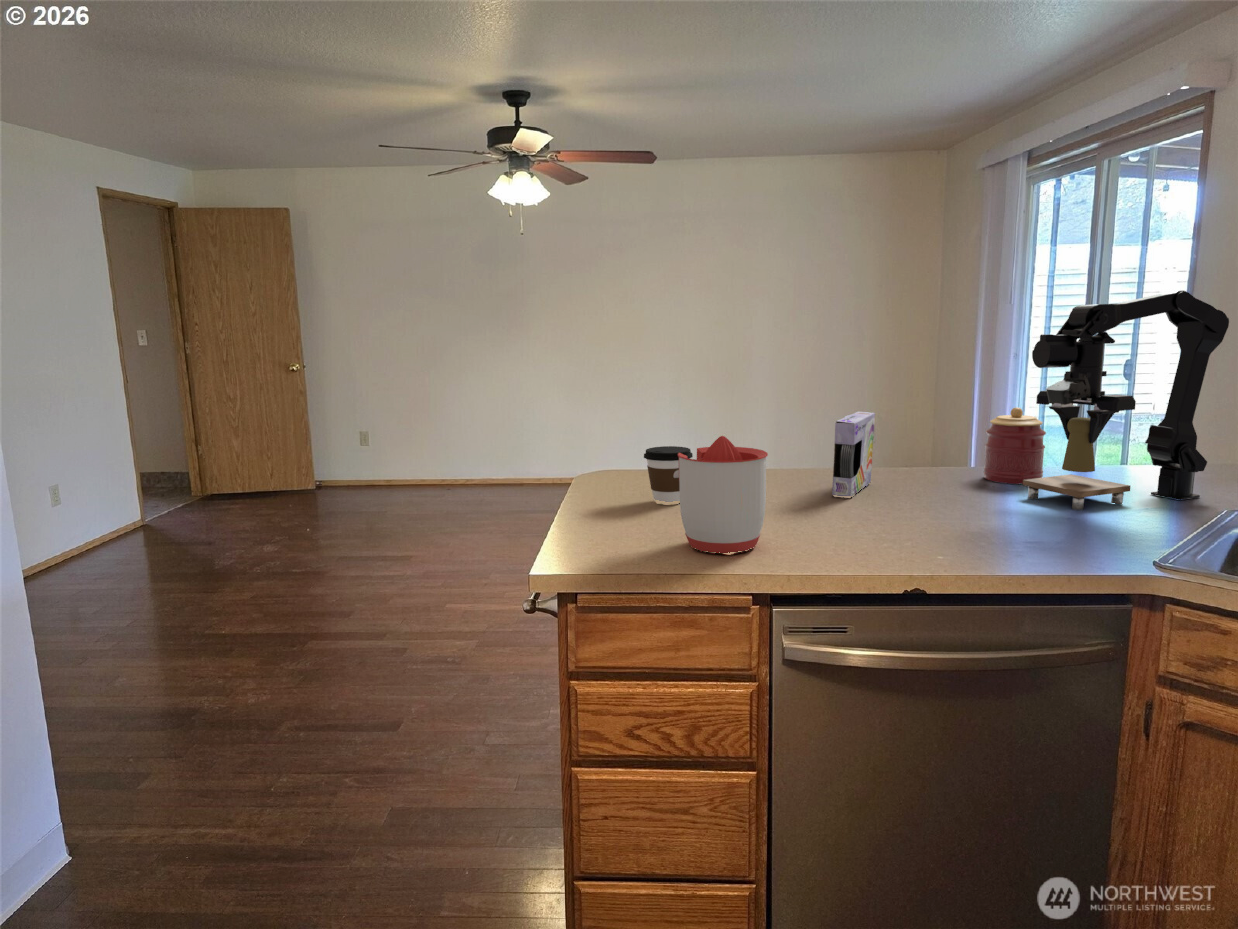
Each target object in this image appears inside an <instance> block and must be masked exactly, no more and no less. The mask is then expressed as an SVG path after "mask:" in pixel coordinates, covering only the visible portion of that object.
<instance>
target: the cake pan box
mask: <svg viewBox="0 0 1238 929" xmlns="http://www.w3.org/2000/svg"><path fill="white" fill-rule="evenodd" d="M875 417H876V413H875V412H867V411H856V412H854V413H852V414H848V415H845V416H844V417H843V418H840V419H838V420H836V421H835V424H834V426H835V427H834V445H833V447H834V448H833V451H834V452H833V466H832V469H833V470H832V492H831V494H832V495H837V496H853V495H854V494H855V493H857V492H858V491H859V490H861V489H862V488H863V487H865V486H866V487H867V486H868V484H869V483H870V484H871V481H872V468H873V467H872V466H873V450H874V436H875V435H874V433H875V419H876V418H875ZM870 484H869V485H870ZM866 487H865V488H866ZM862 490H863V489H862ZM862 490H861V491H862ZM857 494H858V493H857Z"/></svg>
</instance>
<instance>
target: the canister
mask: <svg viewBox="0 0 1238 929" xmlns="http://www.w3.org/2000/svg"><path fill="white" fill-rule="evenodd" d="M1023 414H1024V413H1023V410H1022V408H1021V407H1017V406H1016V407H1015V406H1014V407H1013V408H1012V409H1011V411H1010V414H1007V415H1006V414H1005V415H1002V414H1001V415H998V416H996V417H994V418H992V419H991V420H989V423H990V424H991V426H990V427H989V428H987V429H985V433H986V434H987V440H986V442H985V444H984V446H985V449H984V450H985V454H984V467H983V477H984V479H985V480H987V481H990V482H996V483H1001V484H1008V485H1009V484H1011V485H1023V480H1027V479H1035V478H1044V477H1043V476H1044V474H1043V473H1044V470H1043V469H1044V468H1043V466H1044V457H1045V456H1044V454H1045V453H1044V452H1045V448H1046V445H1044V436H1045V435H1046V434H1047V432H1046V431H1045V430H1044V429H1042V427H1041V426H1042V425H1043V421H1041V420H1039V419H1038V418H1037V417H1036V416H1032V415H1023Z"/></svg>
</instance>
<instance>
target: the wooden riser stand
mask: <svg viewBox="0 0 1238 929" xmlns="http://www.w3.org/2000/svg"><path fill="white" fill-rule="evenodd" d="M1027 487H1028V486H1027ZM1027 491H1028V492H1027V499H1028V500H1034V499H1036V500H1038V499H1039V491H1040V489H1037V488H1033V487H1028V490H1027ZM1124 493H1125V492H1121V493H1113V494H1111V502H1110V503H1115V504H1122V503H1124V502H1123V501H1124ZM1115 504H1114V505H1115ZM1122 505H1123V504H1122ZM1084 506H1085V497H1082V498H1078V497H1074V496H1072V506H1071V509H1072V510H1074V511H1084Z"/></svg>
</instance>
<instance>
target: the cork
mask: <svg viewBox="0 0 1238 929" xmlns="http://www.w3.org/2000/svg"><path fill="white" fill-rule="evenodd" d="M1067 428H1068V431H1069V432H1070V435H1069V439H1068V440H1067V444H1066V450H1065V454H1064V456H1063V462H1062V466H1061V469H1062V470H1063V471H1067V472H1073V473H1074V472H1075V473H1092V472H1096V465H1095V452H1094V451H1095V450H1094V443H1090V442H1089V429H1090V417H1086V416H1084V417H1083V416H1082V417H1081V416H1078V417H1077V418H1072V419H1070V420H1069V422H1068V424H1067Z"/></svg>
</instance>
